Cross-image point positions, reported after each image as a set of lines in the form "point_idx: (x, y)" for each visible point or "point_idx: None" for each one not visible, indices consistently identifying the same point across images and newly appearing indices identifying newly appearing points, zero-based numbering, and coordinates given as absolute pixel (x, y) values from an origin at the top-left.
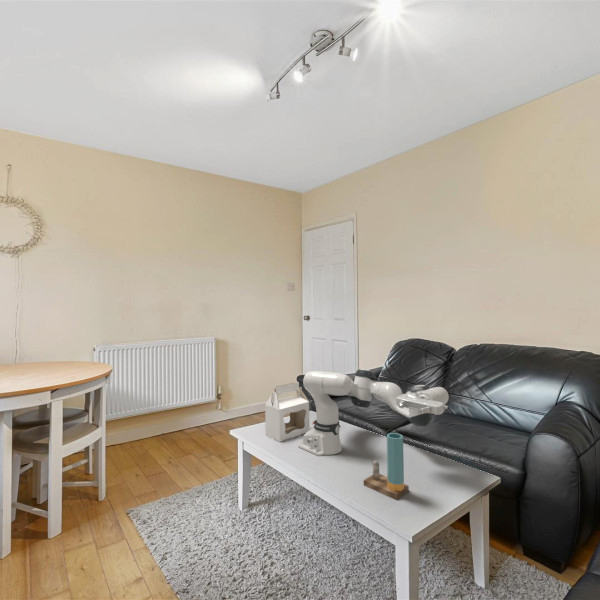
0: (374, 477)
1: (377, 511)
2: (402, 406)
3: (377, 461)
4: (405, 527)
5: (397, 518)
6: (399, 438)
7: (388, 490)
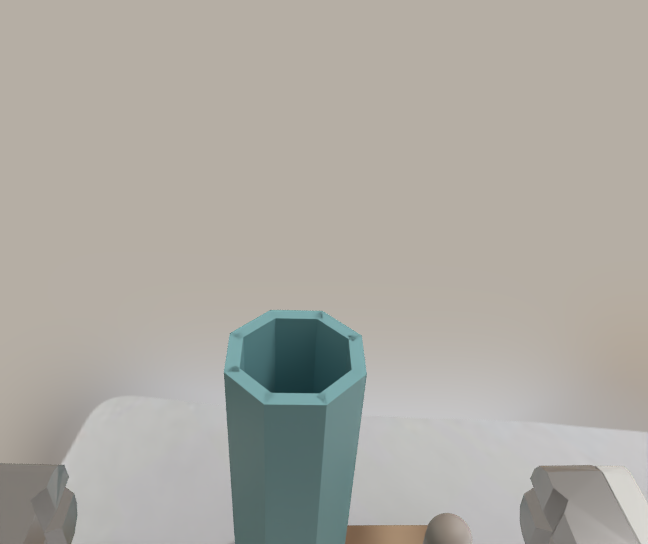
0: None
1: None
2: (549, 537)
3: (444, 532)
4: (130, 410)
5: (178, 432)
6: (234, 334)
7: None
